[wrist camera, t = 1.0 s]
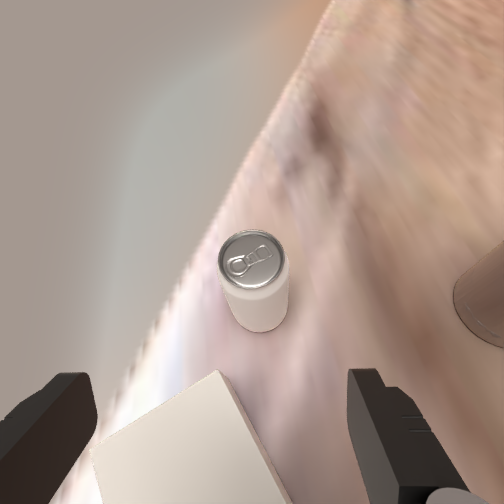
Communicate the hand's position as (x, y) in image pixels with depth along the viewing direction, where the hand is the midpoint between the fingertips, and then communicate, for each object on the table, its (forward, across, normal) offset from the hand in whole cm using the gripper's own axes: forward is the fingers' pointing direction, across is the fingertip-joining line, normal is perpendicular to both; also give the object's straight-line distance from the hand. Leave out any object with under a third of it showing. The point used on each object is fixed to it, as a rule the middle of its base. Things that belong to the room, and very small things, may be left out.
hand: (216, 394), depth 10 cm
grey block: (+15, +5, +20) cm, 26 cm away
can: (+26, 0, +9) cm, 28 cm away
